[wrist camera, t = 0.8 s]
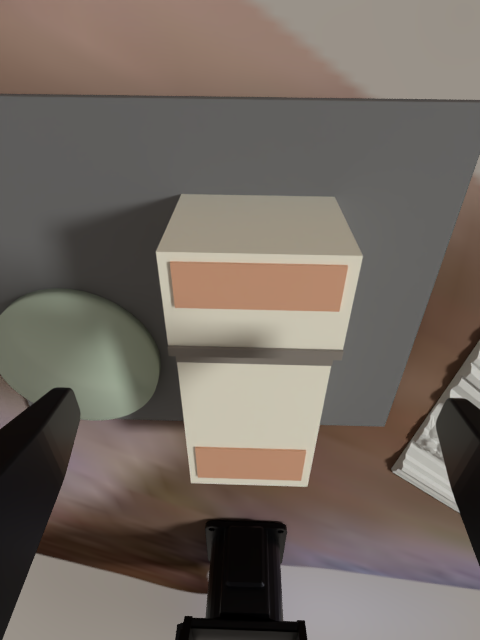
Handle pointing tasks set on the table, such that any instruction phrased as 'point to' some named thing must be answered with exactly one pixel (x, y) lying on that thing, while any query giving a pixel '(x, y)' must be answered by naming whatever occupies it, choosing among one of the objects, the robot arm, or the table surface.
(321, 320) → the cream block
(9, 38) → the table surface
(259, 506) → the table surface
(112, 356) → the coaster
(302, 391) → the cream labeled box
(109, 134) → the mat
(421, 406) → the table surface
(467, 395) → the crown molding
